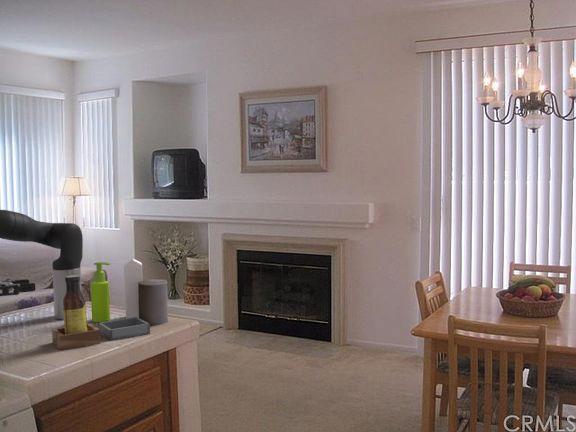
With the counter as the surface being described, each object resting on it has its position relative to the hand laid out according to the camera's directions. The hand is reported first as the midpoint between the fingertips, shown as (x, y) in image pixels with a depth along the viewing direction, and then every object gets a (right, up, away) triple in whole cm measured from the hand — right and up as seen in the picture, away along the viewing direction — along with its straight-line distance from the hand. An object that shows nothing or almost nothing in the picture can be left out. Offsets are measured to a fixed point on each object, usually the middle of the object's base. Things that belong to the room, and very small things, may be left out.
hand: (32, 284), depth 158 cm
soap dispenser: (+8, -17, +36) cm, 40 cm away
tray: (+21, -17, +18) cm, 32 cm away
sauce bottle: (+10, -18, +8) cm, 22 cm away
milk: (+18, -16, +38) cm, 46 cm away
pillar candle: (+27, -17, +32) cm, 45 cm away
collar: (+10, -18, +8) cm, 22 cm away
